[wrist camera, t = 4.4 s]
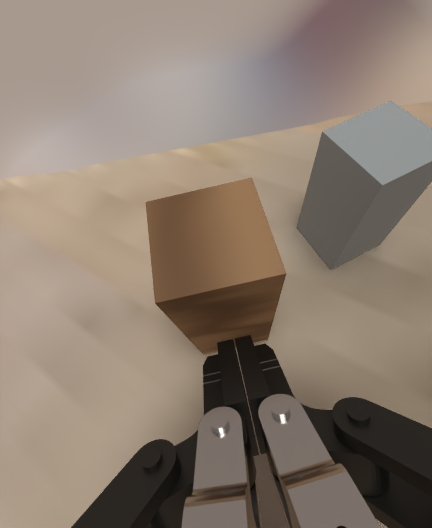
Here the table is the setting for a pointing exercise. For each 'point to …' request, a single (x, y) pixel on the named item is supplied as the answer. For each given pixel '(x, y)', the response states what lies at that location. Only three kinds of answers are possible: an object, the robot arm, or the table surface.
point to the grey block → (364, 181)
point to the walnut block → (215, 263)
